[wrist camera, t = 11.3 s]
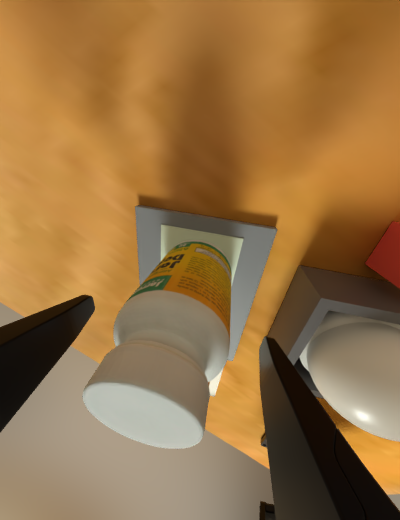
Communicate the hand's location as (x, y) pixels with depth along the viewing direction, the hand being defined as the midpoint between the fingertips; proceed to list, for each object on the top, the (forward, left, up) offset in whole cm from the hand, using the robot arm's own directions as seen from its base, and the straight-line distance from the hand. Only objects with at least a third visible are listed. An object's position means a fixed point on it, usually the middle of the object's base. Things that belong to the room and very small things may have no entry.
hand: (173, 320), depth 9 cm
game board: (-7, 0, -6) cm, 10 cm away
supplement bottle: (0, 0, -6) cm, 6 cm away
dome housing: (-1, -12, -6) cm, 14 cm away
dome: (-3, -12, -6) cm, 14 cm away
